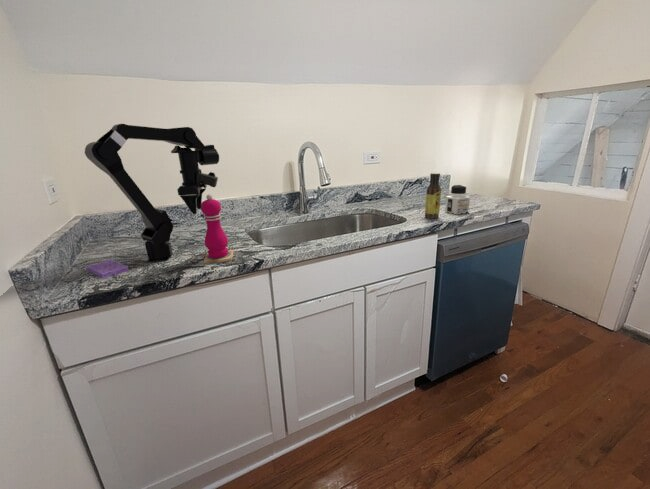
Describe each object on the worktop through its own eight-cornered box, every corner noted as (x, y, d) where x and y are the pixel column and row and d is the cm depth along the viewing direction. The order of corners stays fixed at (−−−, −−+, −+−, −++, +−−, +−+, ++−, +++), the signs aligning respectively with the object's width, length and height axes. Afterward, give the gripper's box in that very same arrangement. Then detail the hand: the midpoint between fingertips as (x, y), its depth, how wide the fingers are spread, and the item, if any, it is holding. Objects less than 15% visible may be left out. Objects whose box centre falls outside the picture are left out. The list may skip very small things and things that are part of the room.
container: (456, 214, 145) (459, 187, 141) (444, 211, 152) (446, 185, 148) (468, 212, 148) (471, 185, 144) (456, 209, 155) (458, 183, 151)
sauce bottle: (436, 219, 138) (440, 174, 132) (422, 218, 142) (425, 173, 135) (440, 216, 144) (444, 172, 137) (426, 215, 147) (429, 172, 141)
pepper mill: (221, 249, 106) (212, 191, 100) (234, 253, 102) (225, 193, 96) (202, 256, 101) (191, 195, 95) (214, 260, 97) (204, 197, 90)
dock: (203, 263, 97) (203, 261, 97) (207, 254, 105) (207, 252, 104) (231, 260, 98) (231, 258, 98) (233, 252, 106) (233, 249, 106)
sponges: (103, 279, 89) (102, 273, 88) (87, 271, 96) (85, 265, 96) (129, 271, 94) (128, 266, 94) (112, 263, 101) (111, 258, 101)
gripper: (210, 167, 98) (217, 215, 103) (217, 163, 116) (223, 204, 120) (173, 169, 96) (182, 217, 101) (185, 165, 114) (193, 207, 118)
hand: (197, 211), depth 110 cm, fingers open, 9 cm apart
